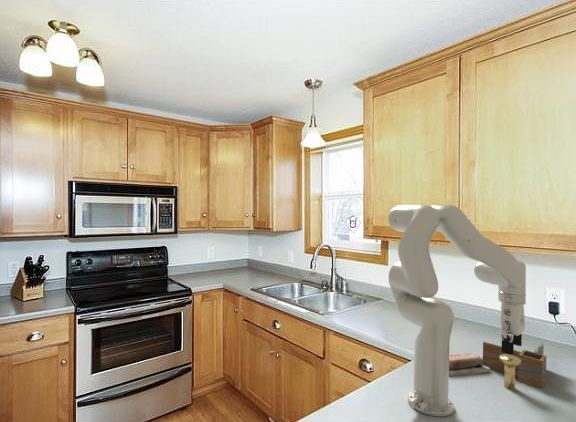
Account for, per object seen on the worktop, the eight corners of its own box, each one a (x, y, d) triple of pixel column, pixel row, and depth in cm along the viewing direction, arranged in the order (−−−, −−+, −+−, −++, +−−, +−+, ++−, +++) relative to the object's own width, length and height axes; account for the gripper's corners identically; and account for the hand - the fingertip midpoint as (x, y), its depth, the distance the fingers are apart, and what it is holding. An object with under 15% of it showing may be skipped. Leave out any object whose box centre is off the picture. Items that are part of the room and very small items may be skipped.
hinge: (541, 388, 111) (542, 361, 111) (479, 368, 124) (480, 344, 124) (552, 371, 123) (553, 346, 123) (495, 354, 137) (496, 332, 137)
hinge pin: (517, 394, 107) (518, 363, 107) (496, 387, 111) (497, 357, 111) (522, 388, 111) (523, 358, 111) (501, 381, 115) (502, 352, 115)
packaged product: (448, 363, 118) (430, 352, 127) (447, 377, 118) (429, 365, 127) (491, 359, 122) (470, 348, 131) (490, 373, 122) (470, 361, 131)
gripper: (518, 305, 102) (518, 360, 102) (531, 295, 114) (531, 345, 114) (490, 300, 108) (490, 353, 108) (506, 291, 119) (506, 338, 120)
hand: (511, 348), depth 111 cm, fingers open, 9 cm apart
